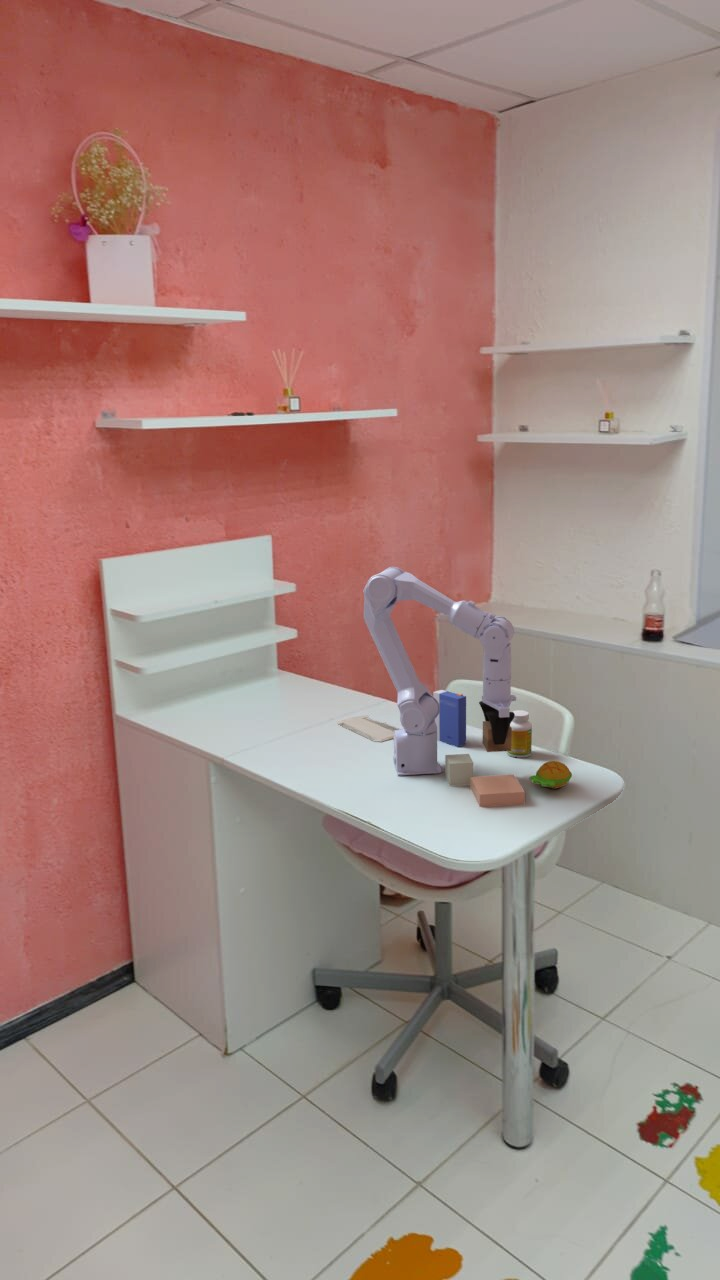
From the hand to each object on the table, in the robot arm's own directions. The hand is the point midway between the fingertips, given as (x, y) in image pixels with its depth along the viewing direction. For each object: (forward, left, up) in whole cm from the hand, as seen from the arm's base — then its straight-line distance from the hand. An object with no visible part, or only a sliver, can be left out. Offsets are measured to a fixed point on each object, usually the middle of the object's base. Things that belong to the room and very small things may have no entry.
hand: (496, 739), depth 202 cm
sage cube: (-8, -1, -8) cm, 12 cm away
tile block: (-2, -10, -9) cm, 13 cm away
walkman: (-6, +22, -9) cm, 24 cm away
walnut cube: (0, 0, -2) cm, 2 cm away
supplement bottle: (+8, +12, -9) cm, 17 cm away
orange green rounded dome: (+10, -8, -9) cm, 15 cm away
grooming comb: (-23, +34, -9) cm, 42 cm away
